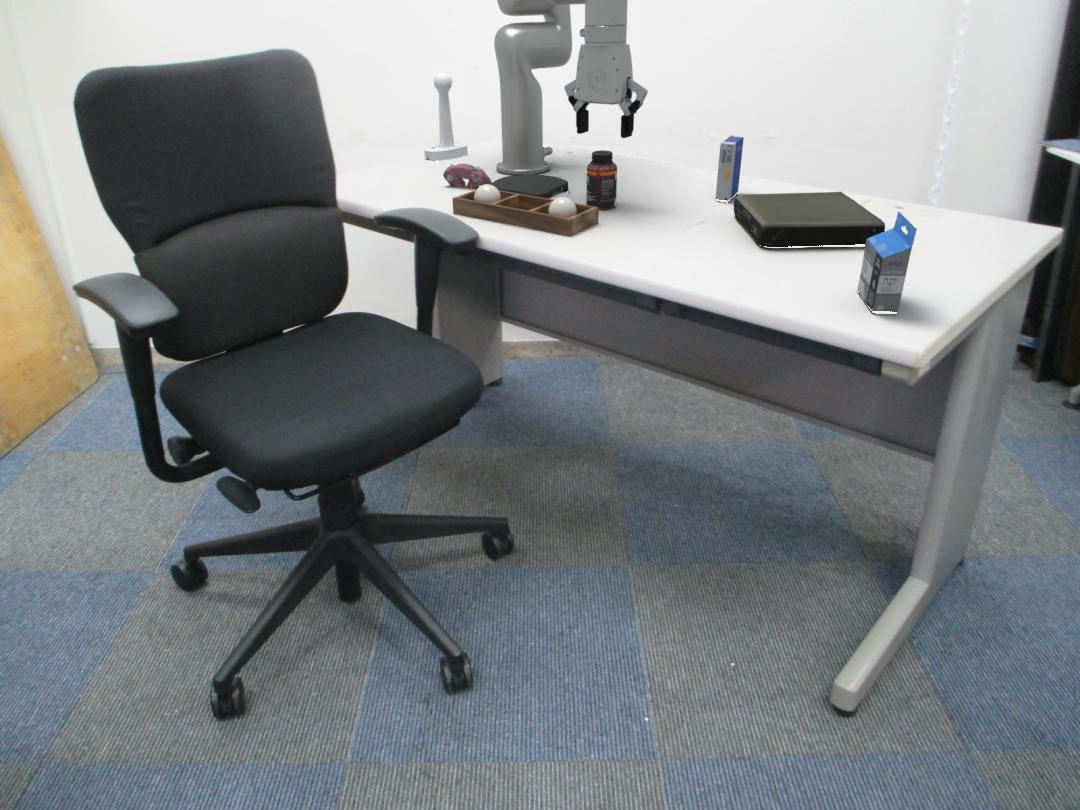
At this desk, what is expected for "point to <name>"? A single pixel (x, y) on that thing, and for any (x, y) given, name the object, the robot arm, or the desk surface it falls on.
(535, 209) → the holder
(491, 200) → the egg
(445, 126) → the joystick
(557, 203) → the egg
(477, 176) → the video game controller
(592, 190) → the supplement bottle
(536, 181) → the media streaming box
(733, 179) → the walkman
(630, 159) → the desk surface
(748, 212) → the network switch
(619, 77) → the robot arm
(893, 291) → the grey and blue box
